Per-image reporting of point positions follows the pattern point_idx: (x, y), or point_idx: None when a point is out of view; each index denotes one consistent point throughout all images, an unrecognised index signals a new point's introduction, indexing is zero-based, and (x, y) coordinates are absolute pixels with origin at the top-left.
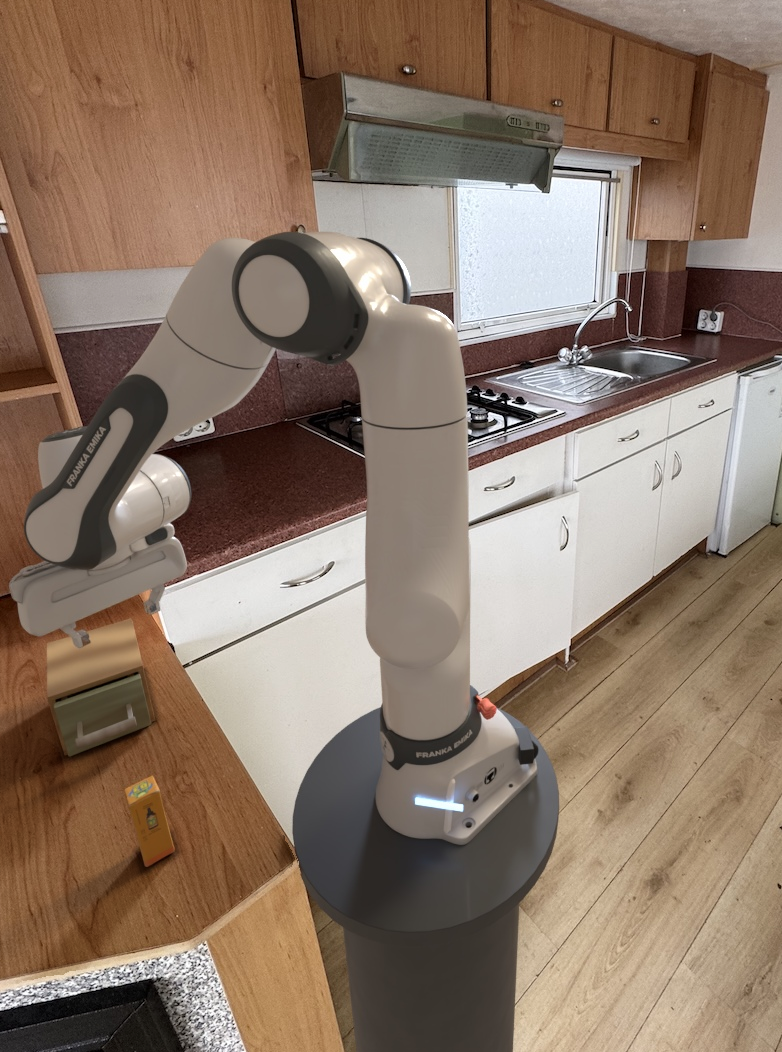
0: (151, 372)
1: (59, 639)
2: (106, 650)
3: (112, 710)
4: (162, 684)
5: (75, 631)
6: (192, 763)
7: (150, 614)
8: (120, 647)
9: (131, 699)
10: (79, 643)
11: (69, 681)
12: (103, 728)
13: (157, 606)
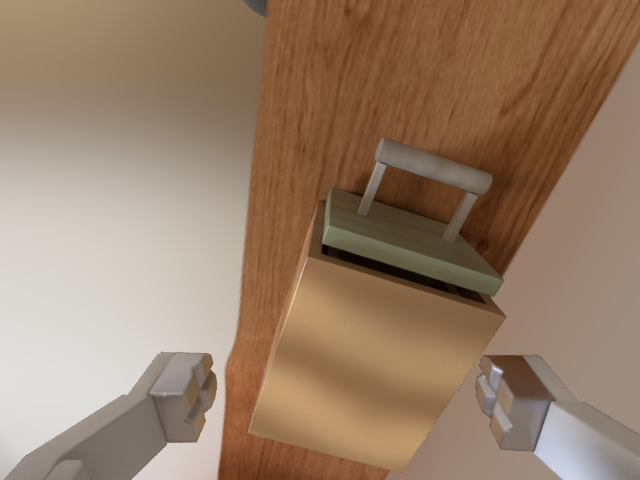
0: None
1: (380, 467)
2: (337, 372)
3: (391, 224)
4: (269, 277)
5: (557, 453)
6: (327, 23)
7: (206, 354)
8: (311, 360)
9: (355, 215)
10: (548, 372)
11: (446, 332)
12: (437, 175)
13: (154, 373)
